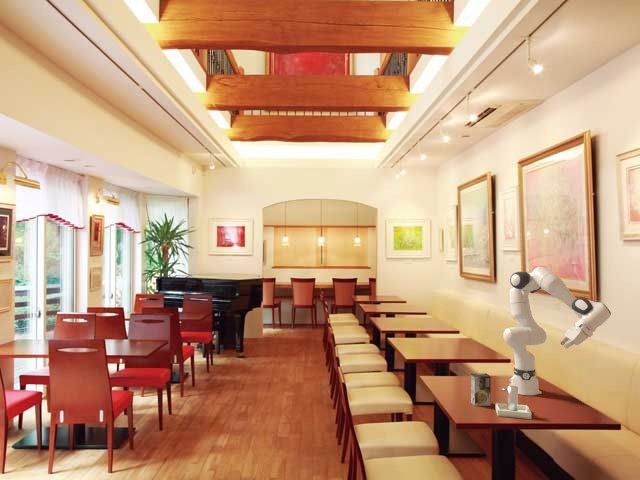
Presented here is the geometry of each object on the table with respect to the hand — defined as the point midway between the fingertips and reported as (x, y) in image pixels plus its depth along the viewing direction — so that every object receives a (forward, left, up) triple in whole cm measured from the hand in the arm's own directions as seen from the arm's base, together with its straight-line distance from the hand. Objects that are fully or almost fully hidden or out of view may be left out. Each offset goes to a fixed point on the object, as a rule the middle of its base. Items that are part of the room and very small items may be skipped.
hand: (563, 345), depth 267 cm
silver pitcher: (+11, -28, -34) cm, 45 cm away
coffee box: (-1, -41, -35) cm, 54 cm away
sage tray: (+11, -26, -34) cm, 45 cm away
